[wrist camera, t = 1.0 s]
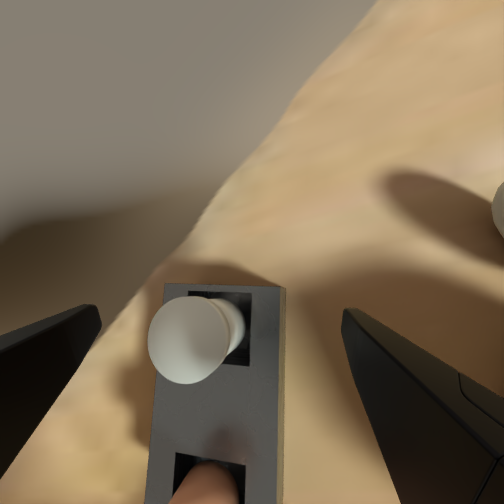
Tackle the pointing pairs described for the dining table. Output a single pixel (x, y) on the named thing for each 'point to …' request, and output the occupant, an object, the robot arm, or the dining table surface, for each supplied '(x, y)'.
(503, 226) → the donut
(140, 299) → the dining table surface
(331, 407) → the dining table surface
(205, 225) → the dining table surface
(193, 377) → the plunger
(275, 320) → the press block
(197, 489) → the terracotta plunger
